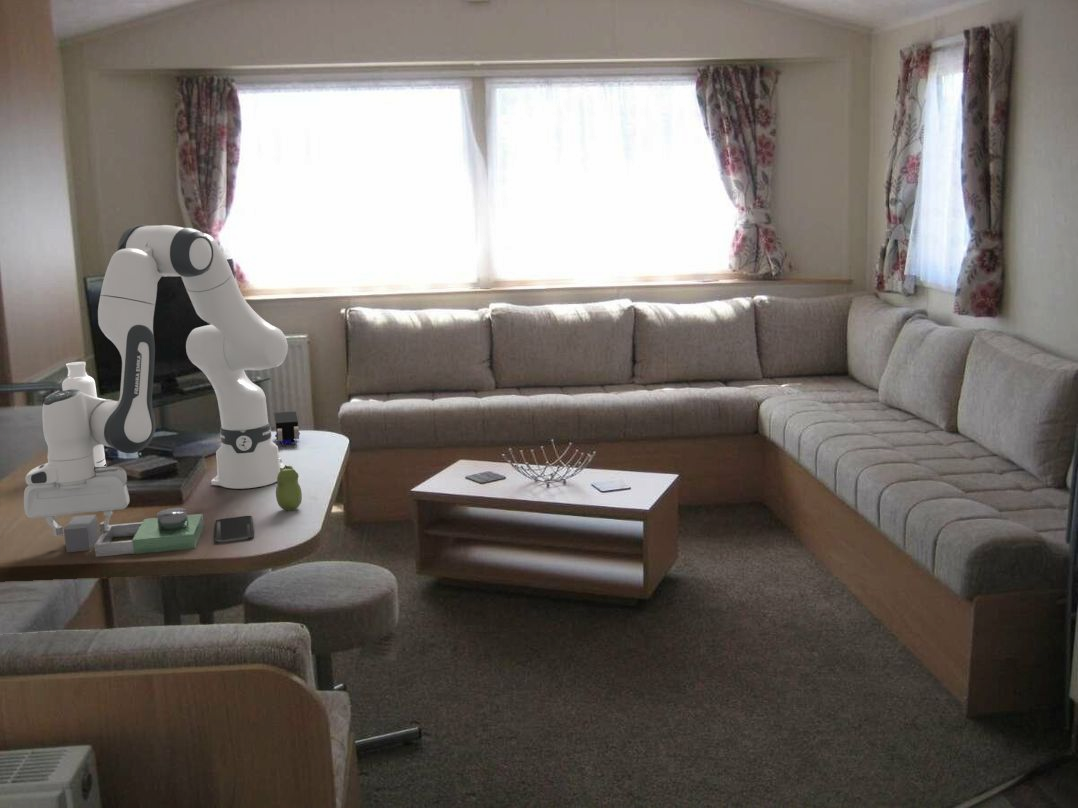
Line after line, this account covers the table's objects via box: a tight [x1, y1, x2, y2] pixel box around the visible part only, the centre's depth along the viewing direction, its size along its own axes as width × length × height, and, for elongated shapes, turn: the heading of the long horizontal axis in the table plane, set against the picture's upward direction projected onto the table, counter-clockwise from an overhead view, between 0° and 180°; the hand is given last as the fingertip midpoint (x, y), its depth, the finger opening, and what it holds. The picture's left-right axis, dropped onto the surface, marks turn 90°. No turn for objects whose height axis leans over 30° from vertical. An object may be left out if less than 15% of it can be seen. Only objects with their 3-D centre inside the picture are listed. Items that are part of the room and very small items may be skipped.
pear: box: [275, 464, 303, 511], centre depth 250 cm, size 6×5×10 cm
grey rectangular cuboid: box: [63, 514, 100, 553], centre depth 234 cm, size 9×4×5 cm, turn 9°
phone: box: [214, 515, 255, 545], centre depth 238 cm, size 8×1×15 cm
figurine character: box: [273, 411, 301, 447], centre depth 313 cm, size 7×8×15 cm
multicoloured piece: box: [93, 507, 205, 558], centre depth 233 cm, size 14×20×6 cm
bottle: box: [61, 361, 107, 467], centre depth 293 cm, size 8×8×28 cm
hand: (81, 533), depth 233 cm, fingers open, 8 cm apart
